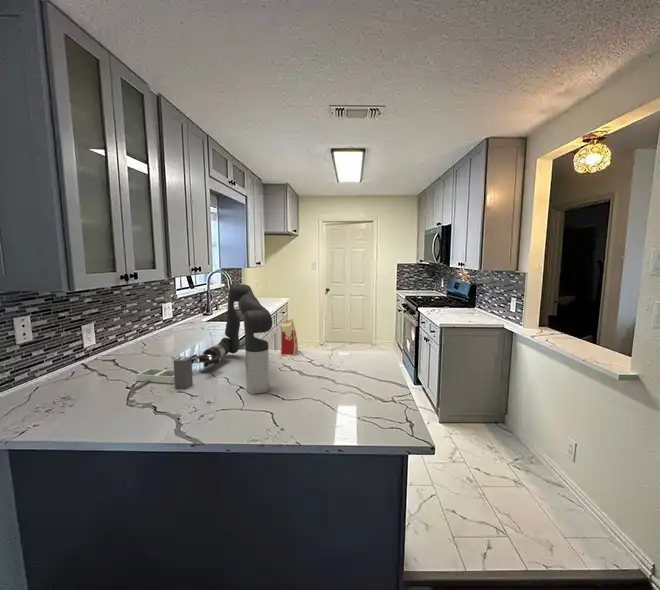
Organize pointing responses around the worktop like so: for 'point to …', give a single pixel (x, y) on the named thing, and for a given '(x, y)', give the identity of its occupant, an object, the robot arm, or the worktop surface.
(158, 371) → the two-compartment tray
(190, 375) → the block
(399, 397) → the worktop surface
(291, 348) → the milk carton
